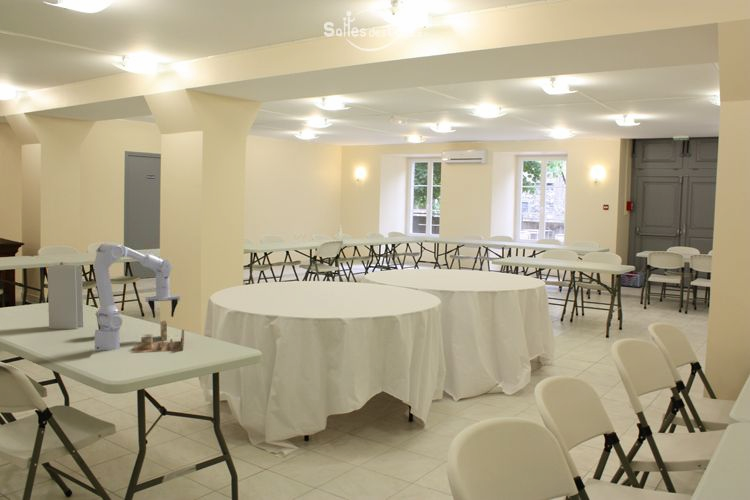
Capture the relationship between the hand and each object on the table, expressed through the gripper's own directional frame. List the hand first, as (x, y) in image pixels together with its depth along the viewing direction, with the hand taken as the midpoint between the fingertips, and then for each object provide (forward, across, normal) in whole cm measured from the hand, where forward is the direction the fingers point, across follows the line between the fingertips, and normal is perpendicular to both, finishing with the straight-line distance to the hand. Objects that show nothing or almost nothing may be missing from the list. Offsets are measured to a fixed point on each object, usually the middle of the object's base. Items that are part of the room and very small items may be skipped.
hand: (163, 317), depth 279 cm
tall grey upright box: (+11, -42, +44) cm, 62 cm away
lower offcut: (+9, -8, -16) cm, 20 cm away
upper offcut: (+7, -8, -16) cm, 19 cm away
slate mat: (+10, 0, 0) cm, 10 cm away
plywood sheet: (+10, 0, 0) cm, 10 cm away
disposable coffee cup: (+11, -23, +16) cm, 30 cm away
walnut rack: (+10, -3, -17) cm, 20 cm away
